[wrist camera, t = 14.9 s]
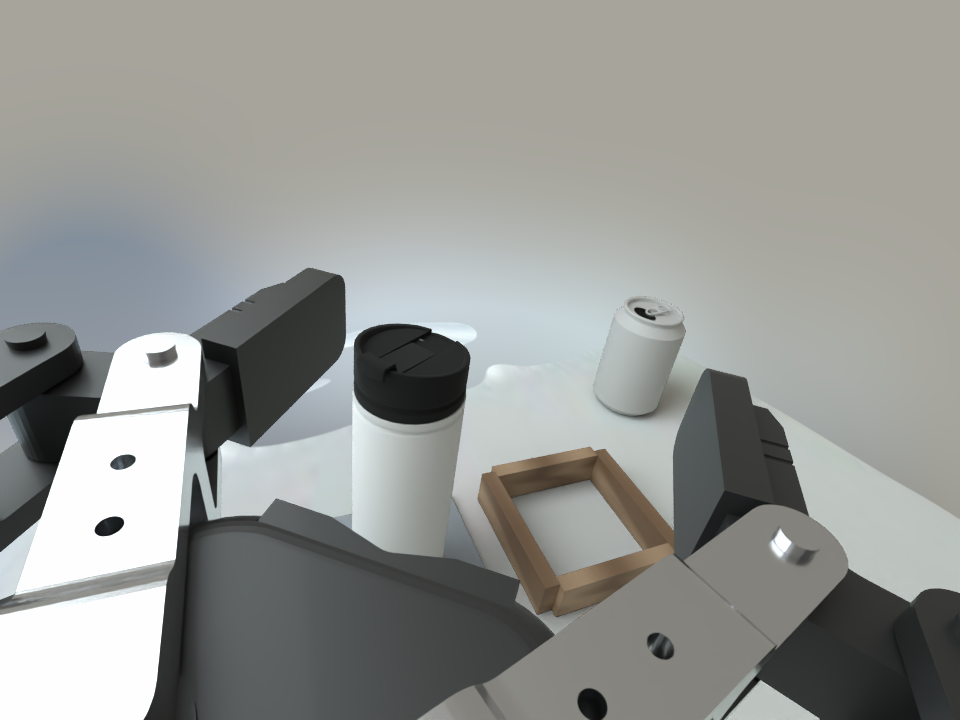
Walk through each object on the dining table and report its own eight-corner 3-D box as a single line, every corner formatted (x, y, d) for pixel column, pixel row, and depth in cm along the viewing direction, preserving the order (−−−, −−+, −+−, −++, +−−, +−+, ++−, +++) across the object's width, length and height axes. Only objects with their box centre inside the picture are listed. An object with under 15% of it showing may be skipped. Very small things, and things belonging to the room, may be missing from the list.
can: (579, 384, 64) (605, 293, 58) (632, 378, 67) (662, 290, 61) (613, 424, 59) (646, 328, 52) (669, 416, 61) (706, 323, 55)
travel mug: (328, 586, 38) (321, 340, 27) (392, 527, 43) (406, 299, 32) (398, 639, 35) (419, 391, 25) (456, 570, 40) (495, 339, 30)
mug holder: (593, 467, 52) (601, 444, 51) (677, 576, 43) (690, 551, 41) (474, 493, 48) (479, 469, 46) (541, 622, 38) (549, 596, 37)
